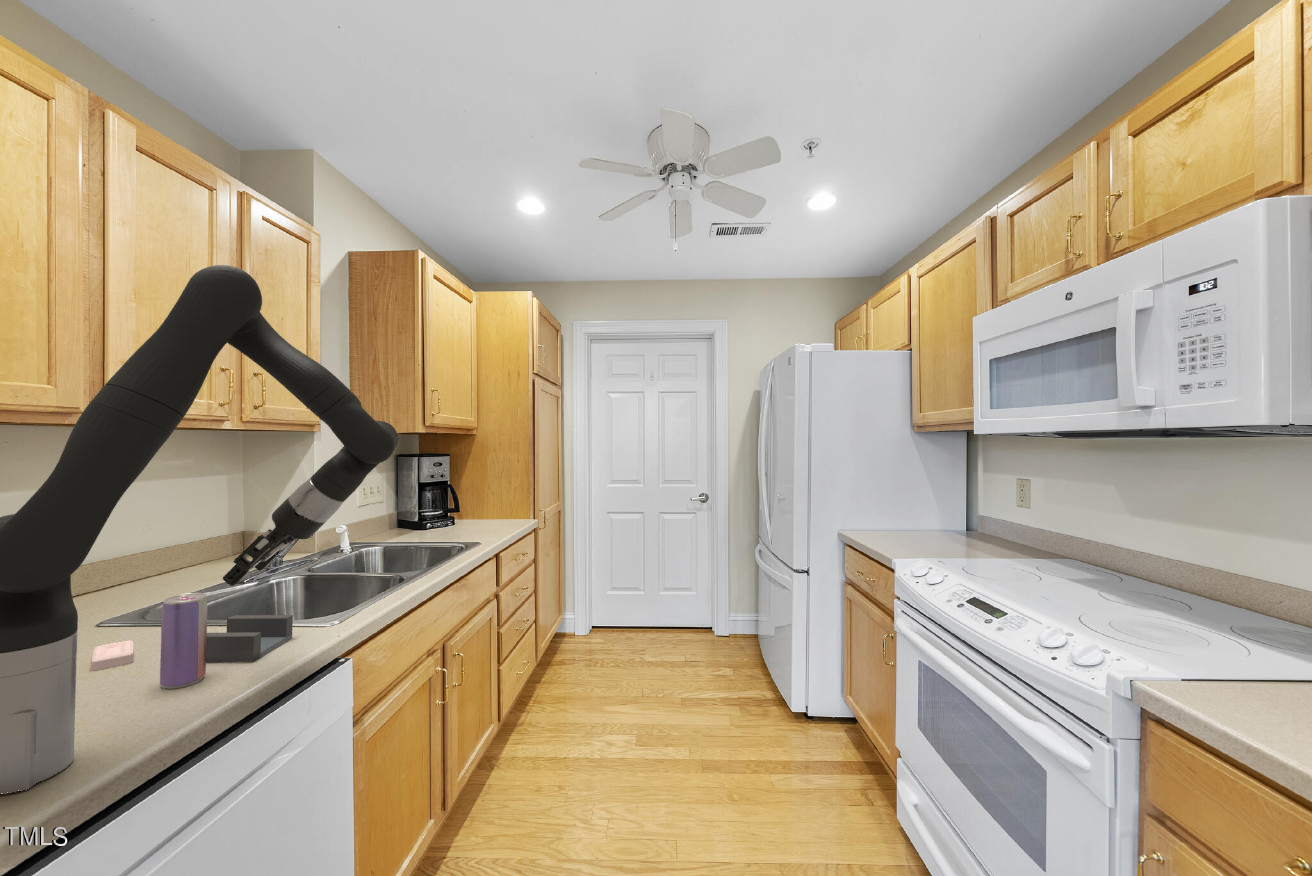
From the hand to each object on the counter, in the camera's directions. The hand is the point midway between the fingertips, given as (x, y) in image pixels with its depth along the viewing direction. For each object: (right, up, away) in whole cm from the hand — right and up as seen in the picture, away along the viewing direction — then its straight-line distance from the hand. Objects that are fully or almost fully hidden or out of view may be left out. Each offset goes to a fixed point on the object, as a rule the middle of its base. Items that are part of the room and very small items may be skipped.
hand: (242, 574), depth 92 cm
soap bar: (-31, -19, +7) cm, 37 cm away
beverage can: (-10, -19, -1) cm, 21 cm away
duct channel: (-10, -19, +13) cm, 25 cm away
